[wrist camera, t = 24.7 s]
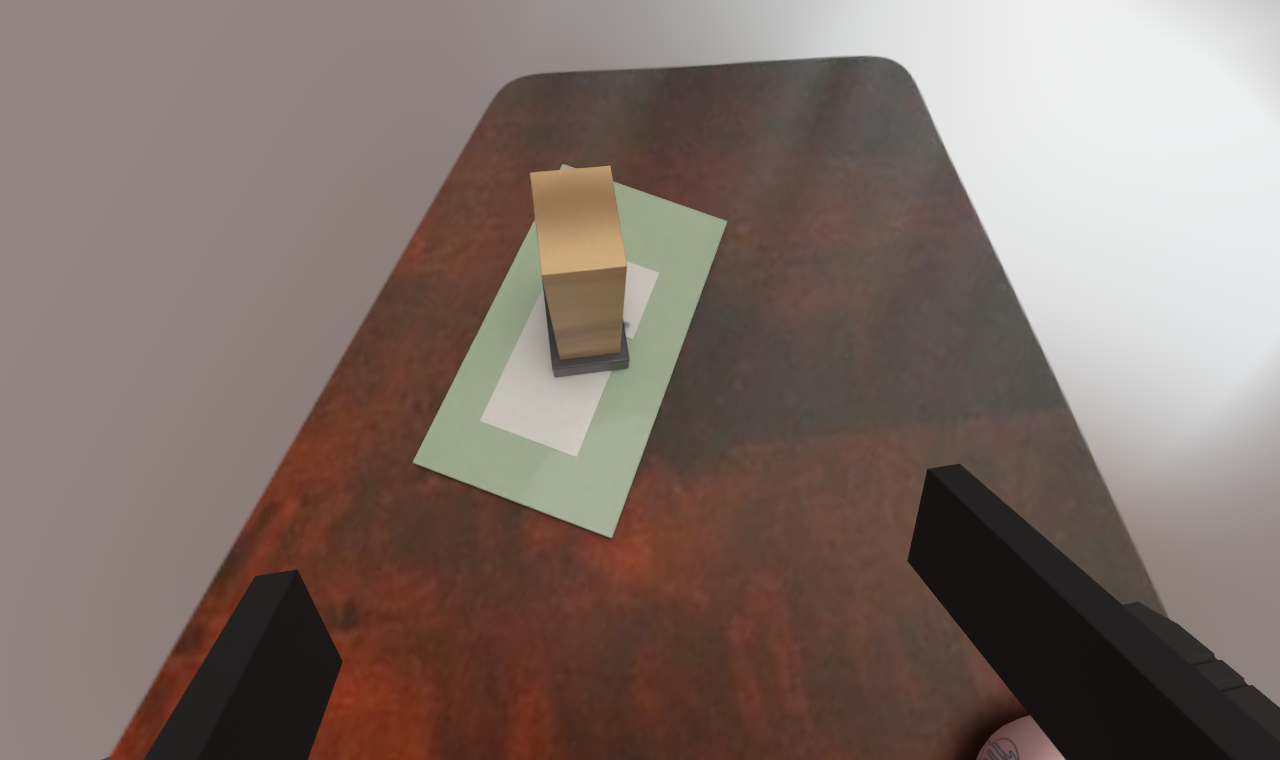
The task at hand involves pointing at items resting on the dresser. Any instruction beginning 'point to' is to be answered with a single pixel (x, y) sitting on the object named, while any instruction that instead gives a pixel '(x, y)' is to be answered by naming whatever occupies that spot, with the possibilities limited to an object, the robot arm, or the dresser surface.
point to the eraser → (581, 269)
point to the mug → (1019, 743)
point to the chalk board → (574, 376)
